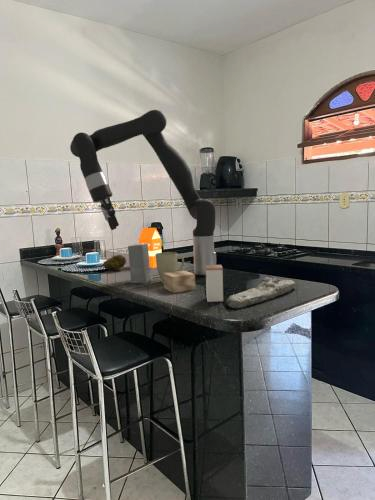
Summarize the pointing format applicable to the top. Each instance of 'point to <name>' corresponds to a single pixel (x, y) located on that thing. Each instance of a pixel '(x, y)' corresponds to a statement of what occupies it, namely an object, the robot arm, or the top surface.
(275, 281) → the long grey stone
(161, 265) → the mug
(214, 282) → the canister
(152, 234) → the orange juice
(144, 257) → the skincare box
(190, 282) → the oak block
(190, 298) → the top surface
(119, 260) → the potato
